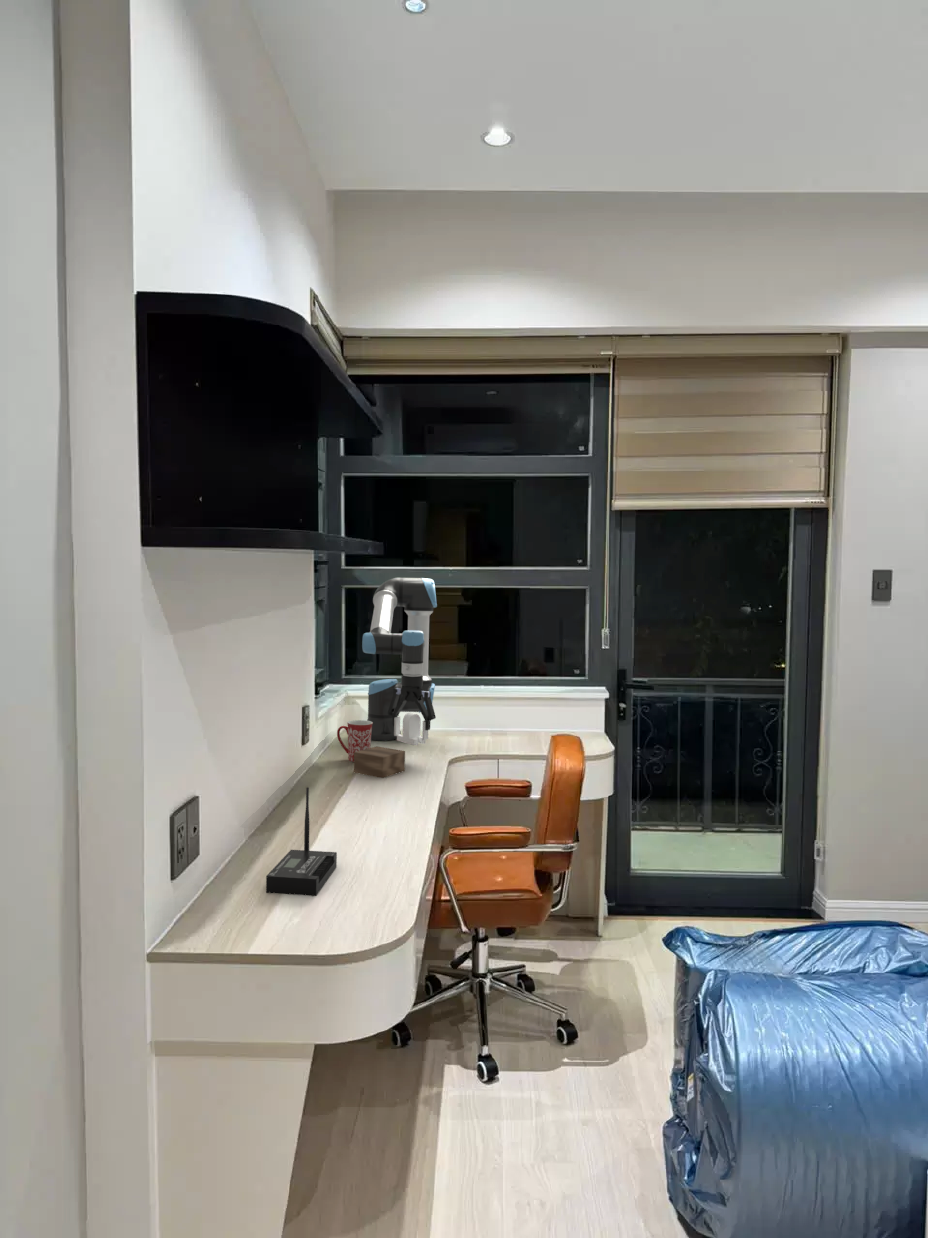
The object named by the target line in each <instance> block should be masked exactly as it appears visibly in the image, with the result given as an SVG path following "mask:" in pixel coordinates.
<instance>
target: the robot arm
mask: <svg viewBox="0 0 928 1238" xmlns="http://www.w3.org/2000/svg"><path fill="white" fill-rule="evenodd" d="M436 594H437V593H436V585H435V581H434V579H432V578H425V577H393V578H390V579H387V580H386V581H384V582H383V583H382V584H380V585H379V586H378V588H377V589H376V590H375V592H374V594H373V596H372V597H373V598H372V603H373V606H374V608H373V613H372V618H371V624H370V629H369V630H370V631H369V632H365V633H363V634H362V642H361V643H362V645H361V647H362V652H363V653H365V654H371V655H401V674H402V675H401V678H400V679H401V680H400V681H401V682H399V681H398V679H396V678H389V679H388V678H387V679H386V678H385V679H379V680H373V681H371V682H370V683H369V685H368V693H367V695H368V696H367V697H368V702H367V720H366V721H371V722H373V724H372V732H371V741H380V740H382V741H384V740H386V741H394V739H395V740H397V735H398V734H401V732H402V731H401V716H400V713H419V714H421V715H422V717H423V719H424V720H423V721H422V735H421V736H422V740H425V741H426V740H428V739H429V731H430V730H431V721H433V720H435V719H436V712H435V710H434V706H433V703H434V702H433V700H434V695H435V687H436V684H435V683H433V682H432V677H430V675H429V646H430V644H429V642H430V640H429V639H430V616H431V614H433V613H434V609H435V608H437V607H438V604H437V595H436ZM396 607H403V608H404V610H403V611H404V612H405V613H406V615H407V630H403V632H402V633H392V625H393V619H394V618H393V617H394V610H395V609H396ZM401 735H402V734H401Z"/></svg>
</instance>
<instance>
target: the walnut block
mask: <svg viewBox="0 0 928 1238" xmlns="http://www.w3.org/2000/svg"><path fill="white" fill-rule="evenodd" d="M405 763H406V750H400V749H395V748H391V747H390V748H388V747H384V746H371V747H370V748H368V749H365V750H361V751H357V752H354V762H353V773H354V772H355V773H354V774H358V773H360V774H359V775H363V774H364V776H370V777H375V778H379V779H384V778H388V777H391V776H393V775H397V774H400V773H403V772H405V770H406V768H405V767H406V766H405V765H406V764H405ZM402 771H403V772H402ZM399 772H400V773H399ZM396 773H397V774H396Z"/></svg>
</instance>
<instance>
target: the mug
mask: <svg viewBox="0 0 928 1238" xmlns="http://www.w3.org/2000/svg"><path fill="white" fill-rule="evenodd" d="M346 724H347V725H341V726H339V727H338V728H337V732H336V735H337V740H338V742H339V744H340V746H341V748H342V749H343V750H344V751H345V753H346V754H347V755H348V758H347V759H348V761H349V762H353V763H354V752H357V751H361V750H365V749H368V748H371V743H372V740H371V732H372V724H373V722H371V721H367V720H364V719H363V720H362V719H361V720H359V719H358V720H356V719H355V720H349V721H347V722H346ZM342 729H344V730H345V731H346V734H347V745H348V747H347V746H346V745H345V743H344V742H343V740H342V738H341V730H342Z"/></svg>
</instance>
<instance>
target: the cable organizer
mask: <svg viewBox="0 0 928 1238" xmlns="http://www.w3.org/2000/svg"><path fill="white" fill-rule="evenodd" d="M421 723H422V722H421V717H420V715H419V714H417V713H414V712H406V713H405V715H404V716H403V719H402V734H398V735H397V739H396V741H398V742H402V743H405V744H408V745H413V746H418V745H419V744H422V745H423V744H426V740H422V735H421V725H422V724H421Z"/></svg>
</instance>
